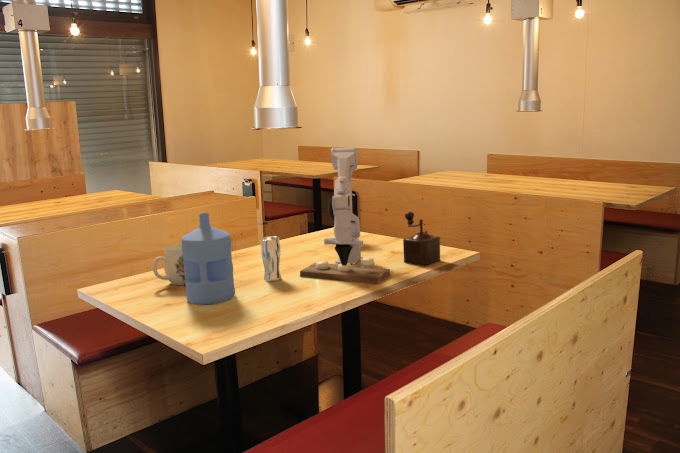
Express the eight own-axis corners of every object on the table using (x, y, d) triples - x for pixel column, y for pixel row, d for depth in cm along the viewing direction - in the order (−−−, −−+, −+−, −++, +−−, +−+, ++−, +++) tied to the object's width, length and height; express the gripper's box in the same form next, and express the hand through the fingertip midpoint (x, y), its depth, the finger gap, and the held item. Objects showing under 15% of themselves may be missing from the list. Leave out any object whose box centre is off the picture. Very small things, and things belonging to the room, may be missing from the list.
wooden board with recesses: (315, 267, 233) (315, 262, 232) (390, 274, 220) (389, 269, 219) (300, 276, 222) (299, 270, 222) (377, 284, 209) (377, 278, 209)
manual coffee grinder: (442, 260, 236) (441, 214, 232) (425, 266, 228) (425, 219, 224) (409, 254, 246) (408, 210, 242) (392, 260, 238) (391, 215, 234)
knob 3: (363, 262, 219) (363, 256, 219) (376, 263, 217) (376, 258, 217) (358, 266, 215) (357, 260, 215) (371, 267, 213) (371, 261, 212)
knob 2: (341, 267, 224) (341, 262, 224) (353, 268, 222) (353, 263, 221) (335, 271, 220) (335, 265, 219) (348, 272, 217) (347, 267, 217)
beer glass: (279, 282, 216) (276, 240, 213) (260, 281, 218) (257, 240, 215) (284, 276, 223) (282, 235, 220) (266, 276, 225) (263, 235, 221)
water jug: (193, 291, 210) (186, 210, 204) (239, 289, 209) (233, 208, 204) (180, 306, 195) (172, 219, 189) (230, 305, 194) (222, 217, 188)
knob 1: (319, 265, 228) (319, 260, 227) (331, 266, 226) (331, 261, 225) (313, 269, 223) (312, 263, 223) (325, 270, 221) (325, 264, 221)
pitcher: (148, 285, 219) (144, 248, 216) (193, 274, 230) (190, 239, 227) (162, 292, 211) (158, 253, 208) (208, 280, 222) (205, 243, 219)
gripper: (319, 228, 217) (321, 266, 220) (356, 231, 211) (358, 269, 214) (328, 224, 223) (330, 261, 226) (365, 227, 217) (366, 264, 220)
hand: (344, 264), depth 220 cm, fingers closed, pressing on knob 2
